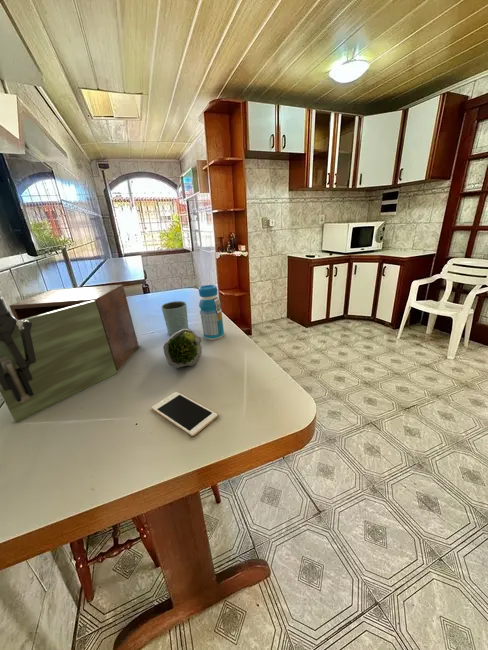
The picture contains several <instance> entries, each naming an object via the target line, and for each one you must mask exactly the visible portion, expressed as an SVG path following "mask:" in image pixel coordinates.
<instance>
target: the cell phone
mask: <svg viewBox="0 0 488 650" xmlns="http://www.w3.org/2000/svg"><path fill="white" fill-rule="evenodd" d="M151 409H152V410H153V411H154V412H155V413H157V414H159V415H160V416H162V417H163V418H165V419H166V420H168V421H169V422H171V423H172V424H173V425H175V426H176V427H178V428H179V429H181V430H183V431H184V432H185V433H187V434H188V435H190V436H191V437H194V436H196V435H197V434H198V433H200V432H201V431H202V430H203V429H204V428H206V427H207V426H208V425H210V424H211V423H212V422H214V420H216V419H217V418H218V413H217V412H215V411H213V410H211V409H210V408H207V407H206V406H204V405H203V404H200V403H199V402H197V401H195V400H194V399H191V398H189V397H188V396H185V395H184V394H182V393H181V392H179V391H175V392H173V393H172V394H169V395H168V396H166V397H165V398H163V399H162V400H160V401H159V402H157V403H155V404H154V405H152V406H151Z"/></svg>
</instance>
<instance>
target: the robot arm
mask: <svg viewBox="0 0 488 650" xmlns="http://www.w3.org/2000/svg"><path fill="white" fill-rule="evenodd" d="M1 293H2V291H1V290H0V294H1ZM9 309H10V308H9V307H8V305H7V303H6V299H5V298H4V297H3V296H2V295H0V341H3V342H4V343H5V345H6V347H7V348H8V350H9V352H10V353H11V355H12V356H13V358H14V360H15V361H16V363H17V365H18V366H19V368H18V369H16V371H17V373H18V375H19V377H20V379H21V382H22V384H23V386H24V388H25V390H26V392H27V394H28V395H29V396H32V395H34V393H33V391H32V389H31V387H30V385H29V383H28V381H30V380H32V378H33V377H32V375H31V373H30V371H29V366H30V365H31V364H32V363H35V362H36V358H35V353H34V348H33V343H32V338H31V333H30V331H31V326H32V323H31V322H30V321H27V320H23V321H22V320H16V318H14V316H13V314H12V313H11V311H10V310H9ZM15 325H17V328H18V329H20V333H21V338H22V343H23V347H24V352H25V357H26V359H25V360H24V358H23V357H22V355H21V353H20V352H19V350H18V348H17V346H16V345H15V343H14V341H13V339H12V337H11V335H12V333H13V330H14V328H15ZM0 386H1V388H2V389H3V390H5V391H7V390H10V391H11V393H12V395H13V397H14V399H15V400H16V401H17V402H19V401H22V400H21V397H20V395H19V393H18V391H17V389H16V387H15V385H14V383H13V381H12V379H11V377H10V375H8V374H7V373H5V374H4V371H3V368H2V365H1V363H0Z"/></svg>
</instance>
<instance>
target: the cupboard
mask: <svg viewBox="0 0 488 650" xmlns="http://www.w3.org/2000/svg"><path fill="white" fill-rule="evenodd" d="M92 300H94V301H96V305H97V308H98V311H99V315H100V318H101V321H102V325H103V328H104V331H105V334H106V338H107V341H108V344H109V348H110V351H111V354H112V358H113V361H114V364H115V368H116V371H117V372H118V371H119V370H120V369H121V368H122V367H123V365H125V363H126V362H127V361H128V359H129V358H130V357H131V355H133V353H135V351H136V350H137V349H138V348H139V342H138V337H137V333H136V331H135V327H134V322H133V318H132V314H131V311H130V306H129V303H128V298H127V295H126V291H125V287H124V284H111V285H97V286H96V285H95V286H85V287H72V288H59V289H50V290H47V291H44V292H42V293H38V294H37V295H36V294H35V295H33V296H31V297H28V298H26V299H23V300H20V301H18V302H15V303H12V304H10V305H9V307H8V308H9V309H10V312H11V315H12V316H13V317H14V318H16V320H22V319H25V318H29V317H33V316H36V315H40V314H44V313H48V312H51V311H55V310H59V309H62V308H66V307H70V306H74V305H77V304H81V303H85V302H88V301H92Z"/></svg>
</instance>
